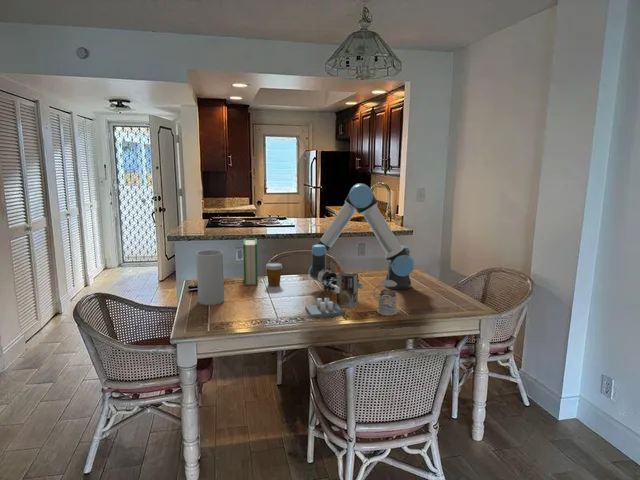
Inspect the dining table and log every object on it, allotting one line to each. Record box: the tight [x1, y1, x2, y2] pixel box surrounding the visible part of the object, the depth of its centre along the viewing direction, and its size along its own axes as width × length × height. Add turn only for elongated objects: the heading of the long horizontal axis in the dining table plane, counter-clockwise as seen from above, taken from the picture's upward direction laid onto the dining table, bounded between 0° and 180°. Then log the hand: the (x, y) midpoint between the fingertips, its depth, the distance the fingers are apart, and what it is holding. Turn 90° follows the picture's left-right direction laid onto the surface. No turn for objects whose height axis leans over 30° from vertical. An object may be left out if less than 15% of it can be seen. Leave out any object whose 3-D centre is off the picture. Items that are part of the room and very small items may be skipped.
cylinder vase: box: [195, 249, 225, 306], centre depth 208 cm, size 12×12×25 cm
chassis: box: [304, 297, 346, 319], centre depth 197 cm, size 16×12×6 cm
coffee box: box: [336, 271, 359, 310], centre depth 205 cm, size 9×6×16 cm
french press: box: [373, 260, 398, 316], centre depth 197 cm, size 10×12×25 cm
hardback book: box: [242, 237, 258, 287], centre depth 244 cm, size 18×7×24 cm, turn 9°
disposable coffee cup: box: [265, 262, 283, 287], centre depth 239 cm, size 10×10×12 cm
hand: (350, 288), depth 202 cm, fingers open, 13 cm apart
